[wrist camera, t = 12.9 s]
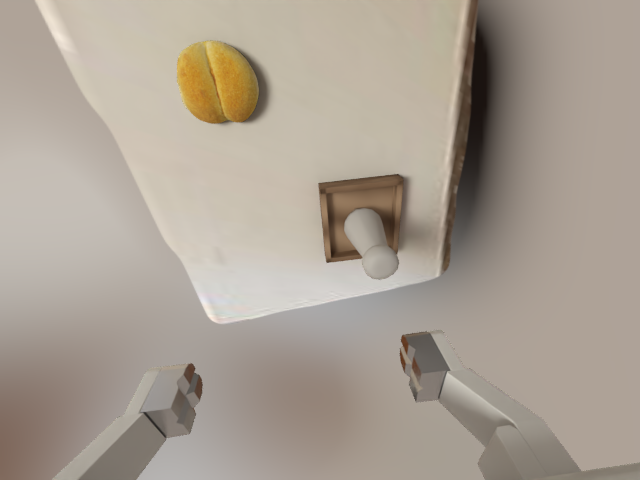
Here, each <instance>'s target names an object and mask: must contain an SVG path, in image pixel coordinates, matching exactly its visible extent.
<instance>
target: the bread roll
mask: <svg viewBox="0 0 640 480" xmlns="http://www.w3.org/2000/svg"><path fill="white" fill-rule="evenodd" d="M177 83H178V85H179V90H180V94H181V98H182V102H183V104H184V106H185V108H186V109H188V110H189V111H190V112H191V113H192V114H193V115H194V116H195V117H196V118H198V119H200V120H202V121H204V122H208V123H221V122H224V121H226V120H231V121H233V122H243V121H245V120H246V119H248V118H249V117H250V115H251V114H252V113H253V111H254V109H255V107H256V104H257V100H258V96H259V87H258V81H257V77H256V75H255V73H254V71H253V69H252V68H251V66H250V64H249V63H248V61H247V60H246V59H245V57H244V56H243V55H242V54H241V53H240V52H238V51H237V50H235V49H234V48H233V47H231V46H229V45H227V44H225V43H223V42H220V41H211V40H210V41H205V42H198V43H195V44H192V45H190V46H189V47H187V48H186V49H184V50H183V51H182V52H181V53H180V55H179V58H178V63H177Z"/></svg>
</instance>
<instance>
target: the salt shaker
mask: <svg viewBox="0 0 640 480" xmlns="http://www.w3.org/2000/svg"><path fill="white" fill-rule="evenodd" d="M344 231H345V233H346V236H347V238H348V239H349V240H350V242H351V243H352V244H353V246H354V247H355V248H356V249H357V251H358V252H359V253H360V255H361V256H362V257H363V258H362V265H363V268H364V270H365V272H366V274H367V275H368V276H369V277H371V278H373V279H379V280H380V279H385V278H388V277H389V276H391V275H393V274H394V273H395V271H396V270H397V269H398V265H399V260H398V257H397V255H396V253H395V251H394V250H393V249H391V248H390V247H389V246H388V245H387V241H386V236H385V232H384V228H383V223H382V220H381V218H380V216H379V215H378V214H377V213H376V212H375V211H373V210H372V209H367V208H361V209H354V210H353V211H352V212H351V213H350V214H349V215H348V217H347V218H346V220H345V224H344Z"/></svg>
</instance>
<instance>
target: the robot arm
mask: <svg viewBox="0 0 640 480" xmlns="http://www.w3.org/2000/svg"><path fill="white" fill-rule="evenodd" d="M401 342H402V345H403V346H402V347H401V348H400V359H401V364H402V367H403V370H404V372H405V374H407V375H408V376H409V377H410V381H409V386H410V388H411V391H412V393H413V396H414V399H415V401H416V402H423V401H432V400H439V402H440V403H441V404H442V405H443V406H444V407H445V408H446V409H447V410H448V411H449V412H450V413H451V414H452V415H453V416H454V417H455V418H456V419H457V420H458V421H459V422H460V423H461V424H462V425H463V426H464V427H465V428H467V430H469V431H470V432H471V433H472V434H473V435H474V436H475V437H476V438H477V439H478V440H479V441H480V442H481V443H482V444H483V445H484V446H485V447H486V448H485V450H484V452H483V454H482V455H481V457H480V459H479V462H478V465H479V468H480V470H481V472H482V474H483V476H484V478H485V480H640V463H634V464H627V465H620V466H614V467H607V468H601V469H594V470H588V471H581V470H580V469H579V467H578V466H577V464H576V463H575V462H574V460H573V459H572V458H571V456H570V455H569V454H568V452H567V451H566V450H565V448H564V447H563V446H562V444H561V443H560V442H559V440H558V439H557V437H556V436H555V435H554V433H553V432H552V431H551V430H550V428H549V427H548V425H547V424H546V423H545V421H544V420H543V419H542V418H540V417H539V416H538V415H536V414H535V413H533V412H532V411H530V410H529V409H528V408H526V407H525V406H523V405H522V404H520V403H519V402H518V401H516V400H515V399H513V398H512V397H510V396H509V395H507V394H506V393H505V392H503V391H502V390H500V389H499V388H497V387H496V386H494V385H493V384H491V383H490V382H489V381H487V380H486V379H485V378H483V377H482V376H480V375H479V374H477V373H476V372H475V371H473V370H472V369H470V368H467V369H466V368H465V366H464V365H463V363H462V361H461V360H460V358H459V357H458V355H457V353H456V352H455V350H454V348H453V347H452V345H451V343H450V342H449V340H448V339H447V337H446V335H445V334H444V332H443V331H442V330H436V331H430V332H427V331H426V332H419V333H412V334H406V335H402V337H401ZM194 371H195V367H194V365H193V364H192V363H190V364H182V365H173V366H163V367H156V368H150V369H149V370H148V371H147V372H146V373H145V375H144V376H143V378H142V380H141V382H140V385H139V386H138V388H137V390H136V392H135V394H134V396H133V398H132V400H131V402H130V404H129V406H128V408H127V410H126V412H125V413H124V416H119V417H118V418H117V419H116V420H115V421H114V422H113V423H111V424H110V425H109V426H108V427H107V428H106V429H105V430H104V431H103V432H102V433H101V434H100V435H99V436H98V437H97V438H96V439H94V441H92V442H91V443H90V444H89V445H88V446H87V447H86V448H85V449H84V450H83V451H82V452H81V453H80V454H79V455H77V456H76V457H75V458H74V459H73V460H72V461H71V462H70V463H69V464H68V465H67V466H66V467H65V468H64V469H63V470H62V471H60V472H59V473H58V474H57V475H56V476H55V477H54V478H53V479H52V480H136V479H137V478H138V477H139V475H140V474H141V473H142V471H143V470H144V469H145V467H146V466H147V465H148V463H149V462H150V461H151V459H152V458H153V457H154V455H155V454H156V453H157V451H158V450H159V448H160V447H161V446H162V445H163V443H164V442H165V441H166V438H170V437H175V436H181V435H187V434H190V432H191V429H192V426H193V422H194V419H195V416H196V413H195V410H194V407H195V406H196V405H197V404H198V403H199V401H200V398H201V395H202V386H203V384H202V379H201V377H200V375H198V374H196V373H194Z"/></svg>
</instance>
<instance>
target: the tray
mask: <svg viewBox="0 0 640 480" xmlns="http://www.w3.org/2000/svg"><path fill="white" fill-rule="evenodd" d="M318 184H319V194H320V205H321V216H322V226H323V237H324V247H325V256H326V262H327V263H329V262H337V261H345V260H353V259H361V258H363V257H362V256H361V255H360V253H359V252H358V251H357V249H356V248H355V247H354V246H353V244H352V243H351V242H350V240H349V239H348V238H347V236H346V233H345V231H344V224H345V220H346V218H347V217H348V215H349V214H350V213H351V212H352V211H353V210H354V209H361V208H367V209H372V210H373V211H375V212H376V213H377V214H378V215H379V216H380V218H381V220H382V223H383V228H384V232H385V236H386V241H387V245H388V246H389V247H390V248H391V249H393V250H394V251H395V253H396V254H397V252H398V240H399V228H400V215H401V203H402V191H403V178H402V177H400V176H399V175H398V174H395V175H386V176H377V177H369V178H360V179H351V180H343V181H334V182H325V183H318Z"/></svg>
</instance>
